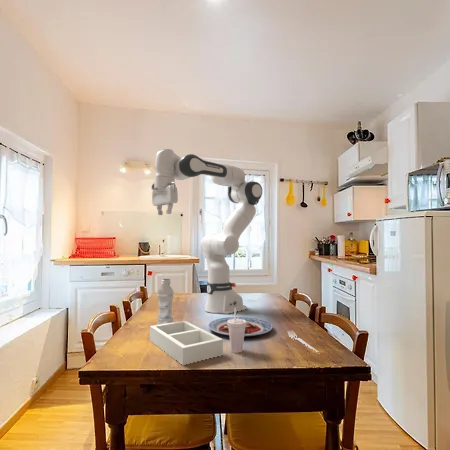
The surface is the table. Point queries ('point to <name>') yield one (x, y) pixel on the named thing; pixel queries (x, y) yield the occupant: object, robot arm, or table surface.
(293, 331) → the fork
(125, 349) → the table surface
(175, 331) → the caddy
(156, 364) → the table surface
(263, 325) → the ceramic plate
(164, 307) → the plastic bottle
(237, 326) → the smoothie
